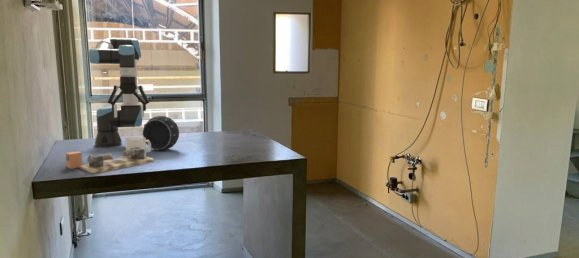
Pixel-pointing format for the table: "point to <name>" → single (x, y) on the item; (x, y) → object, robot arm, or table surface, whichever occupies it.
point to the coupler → (73, 159)
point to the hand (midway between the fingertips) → (129, 117)
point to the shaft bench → (115, 161)
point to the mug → (138, 143)
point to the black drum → (161, 132)
